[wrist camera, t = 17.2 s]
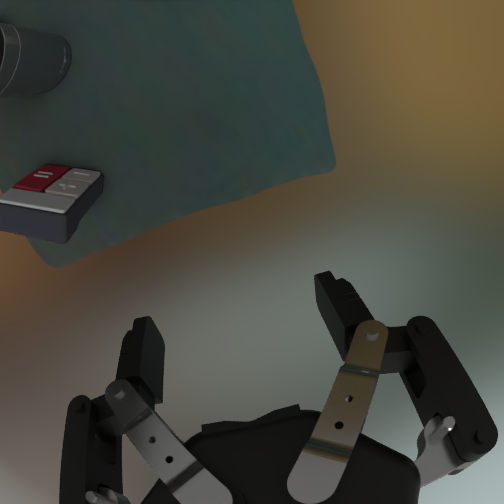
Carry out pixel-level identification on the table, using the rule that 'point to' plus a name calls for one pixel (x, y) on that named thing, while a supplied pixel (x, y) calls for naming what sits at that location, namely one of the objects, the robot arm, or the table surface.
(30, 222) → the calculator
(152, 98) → the table surface
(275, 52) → the table surface
